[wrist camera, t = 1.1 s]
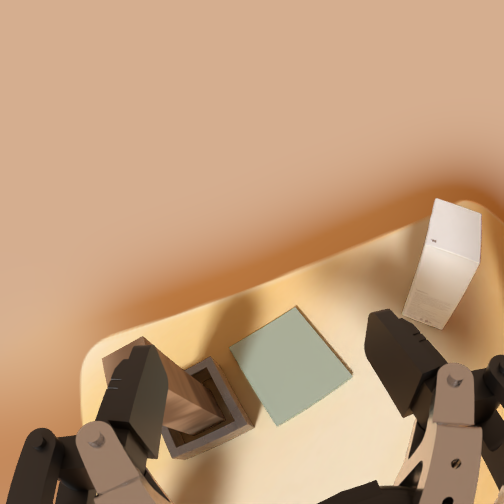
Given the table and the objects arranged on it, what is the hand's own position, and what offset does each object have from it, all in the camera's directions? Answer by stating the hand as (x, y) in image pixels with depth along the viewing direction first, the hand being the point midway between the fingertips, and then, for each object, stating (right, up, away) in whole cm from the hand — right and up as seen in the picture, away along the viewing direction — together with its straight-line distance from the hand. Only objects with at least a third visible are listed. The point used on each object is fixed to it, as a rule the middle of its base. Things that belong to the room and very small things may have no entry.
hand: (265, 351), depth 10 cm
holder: (-6, -16, +19) cm, 26 cm away
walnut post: (-6, -16, +19) cm, 26 cm away
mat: (+4, -10, +21) cm, 24 cm away
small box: (+23, -3, +22) cm, 32 cm away
